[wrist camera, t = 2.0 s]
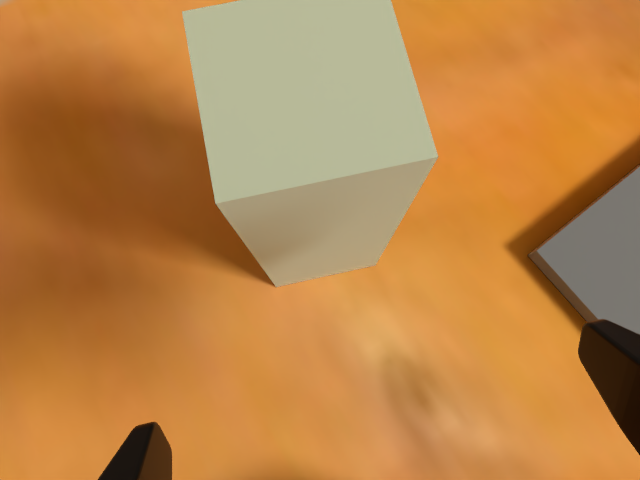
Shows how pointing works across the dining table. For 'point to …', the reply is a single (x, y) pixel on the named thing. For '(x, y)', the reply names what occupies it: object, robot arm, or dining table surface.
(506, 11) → the dining table surface
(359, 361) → the dining table surface
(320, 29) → the sage block
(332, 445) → the dining table surface
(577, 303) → the slate trivet
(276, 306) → the dining table surface
